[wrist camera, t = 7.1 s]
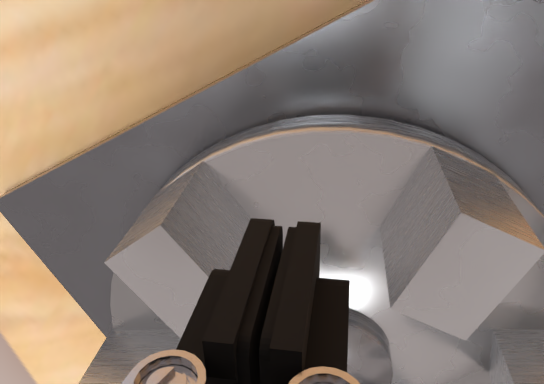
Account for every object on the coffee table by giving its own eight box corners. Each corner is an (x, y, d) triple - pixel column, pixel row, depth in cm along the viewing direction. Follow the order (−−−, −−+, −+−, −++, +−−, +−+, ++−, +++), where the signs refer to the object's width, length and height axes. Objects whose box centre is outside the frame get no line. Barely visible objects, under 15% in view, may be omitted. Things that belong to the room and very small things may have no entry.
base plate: (514, -78, 15) (527, -80, 14) (651, 405, 23) (666, 426, 22) (5, 192, 23) (-11, 204, 22) (245, 482, 31) (241, 501, 30)
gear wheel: (74, 134, 19) (-39, 211, 14) (608, 91, 16) (756, 171, 10) (177, 445, 28) (135, 571, 23) (535, 462, 25) (593, 617, 19)
